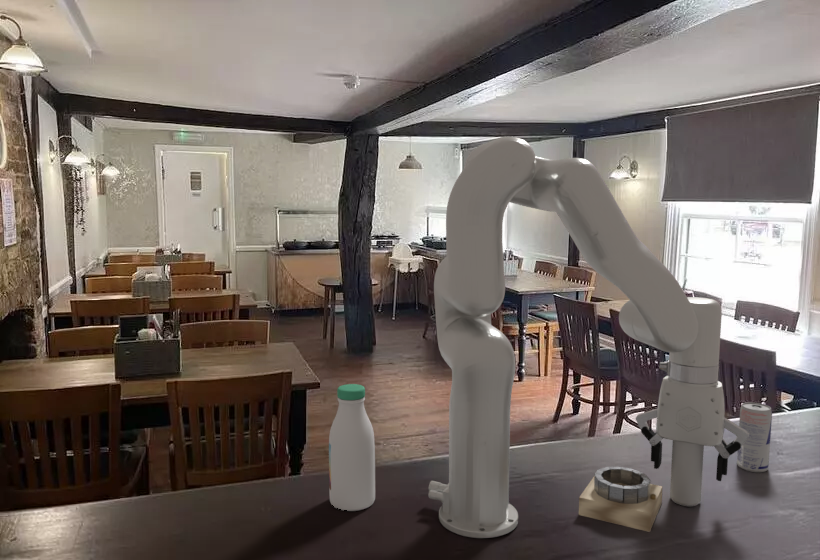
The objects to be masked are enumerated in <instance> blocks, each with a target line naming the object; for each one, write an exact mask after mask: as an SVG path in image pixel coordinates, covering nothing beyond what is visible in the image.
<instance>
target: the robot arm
mask: <svg viewBox="0 0 820 560" xmlns="http://www.w3.org/2000/svg"><path fill="white" fill-rule="evenodd" d="M535 153H536V152H535V150H534V149H533V147H532V146H531V145H530V144H529V143H528V142H527V141H526V140H525V139H522V138H519V137H516V136H506V137H505V136H503V137H500V138H495V139H493V140H491V141H488V142H484V143H482V144H480V145H478V146H477V147H475V148H474V149H472V150H471V151H470V153H469V154H468V156H467V157H466V160H465V163H464V168H463V169H462V170H461V172H460V174H459V175H458V177H457V178H456V180H455V182H454V184H453V187H452V189H451V191H450V193H449V198H448V201H447V206H446V213H445V214H446V215H445V239H446V241H445V244H446V245H445V246H446V247H445V248H446V256H445V257H444V258H443V259H442V260H441V261H440V263H439V264H438V266H437V268H436V271H435V273H434V278H433V279H434V281H433V293H434V294H433V295H434V296H433V298H434V309H435V310H434V311H435V313H434V314H435V325H436V326H435V327H436V337H437V344H438V345H437V346H438V350H439V352H440V355H441V357H442V359H443V360H444V362H445V363H446V364H447V366H449V368H450V369H451V387H450V388H451V389H450V394H449V407H448V408H449V409H448V429H449V430H448V483H447V484H445V483H442V482H440V481H435V480H430V481H429V485H428V498H429V499H430V500H435V501H436V500H437V501H440V502H441V503H442V505H441V506H440V507H439V510H438V519H439V522H440V524H441V525H442V526H443V527H444V528H445V529H447V530H448V531H450V532H452V533H454V534H457V535H459V536H463V537H468V538H474V539H491V538H498V537H502V536H504V535H506V534H509V533H511V532H512V531H514V529H515V528H517V526H518V524H519V512H518V510H517V509H516V508H515V506H513V505H512V504H511V503H510V502H509V501H510V500H509V498H510V496H509V495H510V492H509V491H510V453H511V452H510V450H511V449H510V448H511V447H510V444H511V442H510V441H511V435H510V434H511V405H512V404H511V403H512V400H511V399H512V392H513V385H514V379H515V373H516V354H515V350H514V348H513V345H512V343H511V341H510V340H509V338H508V337H507V336H506V334H504V333H503V332H502V331H501V330H499V329H498V328H496V327H495V326H493V325H492V316H491V315H492V314H493V313H494V312H496V311H497V310H498V309H499V308H500V307H501V305H502V304H503V301H504V298H505V293H506V279H505V266H504V265H505V264H504V247H503V245H504V244H503V223H504V217H505V211H506V209H507V207H508V205H509V204H510V203H511V204H515V205H519V206H522V207H526V208H532V209H535V210H541V211H546V212H549V213H550V212H551V213H552V212H554V213H556V214H557V215H558V218H559V220H560V221H561V222H562V224H563V225H564V227H565V230H567V232H568V234H569V236H570V238H571V239H572V241H573V243H574V244H575V246H576V248H577V249H578V251H579V252H580V255H581V257H582V258H583V260H584V261H585V263H587V265H589V266H590V267H591V268H592V269H593V270H594V271H595V272H596V273H597V274H599V275H600V276H601V277H602V278H604V279H606V280H607V281H609V282H610V283H611V284H613V285H614V286H615V287H616V288H618V290H620V291H621V292H622V293H623V294H624V295H625V296H626V297H627V298H628V301H626V302H625V303H624V304H623V305H622V306H621V308H620V311H619V313H618V322H619V326H620V328H621V330H622V331H623V332H624V333H625V334H626V335H627V337H630V338H632V339H634V340H636V341H638V342H640V343H643V344H645V345H648V346H651V347H653V348H656V349H658V350H661V351H663V352H666V353H669V355H668V357H669V358H668V360H667V361H664V362H663V361H660V362H659V367H658V368H659V370H661V371H664V372H666V374H667V375H666V376H664V377H663V378H662V380H661V385H660V389H659V395H658V404H657V408H654V409H651V410H648V411H644V412H642V413H638V414H637V415H636V416H635V421H636V423H637V425H638V427H639V429H640V432H641V434H642V435H643V436H644V437H645V438H646V439H647V441H648V442H649V444H650V446H651V447H650V449H651V450H650V462H652V463H653V469H654V470H655V469H656V470H658V469H660V466H661V465H662V456H663V453H662V452H663V442H662V440H663V439H664V440H669V441H673V440H674V441H680V442H686V443H691V444H697V445H703V446H704V447H705V446H706V447H714V448H715V450H716V451H717V452H718V455H717V459H716V477H715V478H716V481H718V482H721V481H722V479H723V476H727V474H728V463H729V457H730V456H731V455H733V454H734V453H736V452H738V450H739V449H740V448H741V446H742V445H743V444H744V442H745V441H746V440H747V438H748V436H749V433H748V431H746V430H744V429H743V428H741V427H740V426H739V425H738V424H737V423H735V422H733V421H731V420H730V419H728V418H727V417H725V415H726V414H725V413H726V411H725V396H724V389H723V383H722V382H721V381H719V370H720V369H719V367H720V351H721V350H720V345H721V332H722V330H721V329H722V315H723V314H722V312H723V311H722V306H721V304H720V303H719V301H717V300H715V299H712V298H707V297H701V296H699V297H698V296H687V295H686V293H685V291H684V290H683V287H682V286H681V284H680V283H679V282H678V280H677V279H676V277H675V275H673V274H672V273H671V271H670V270H669V269H668V268H667V267H666V265H665V264H664V263H663V262H662V261H660V259H659V258H658V257H657V256H656V255H655V254H654V253H653V252H652V251H651V250H650V248H649V247H648V246H647V245H646V244H645V243H644V242H642V240H640V238H639V237H637V235H636V233H635V232H634V230H633V229H632V227H631V225H630V224H629V222H628V220H627V218H626V217H625V215H624V213H623V211H622V210H621V207H620V206H619V204H618V203H617V200H616V199H615V197H614V195H613V194H612V192H611V190H610V189H609V187H608V185H607V184H606V182H605V180H604V178H603V176H602V174H601V172H600V171H599V170H598V168H597V167H596V166H595V165H594V164H593V163H592V162H590V161H589V160H587V159H585V158H580V157H568V158H562V159H551V158H545V157H544V158H543V157H539V156H536V154H535ZM654 419H656V423H655V430H656V431H654V430H653V429H652V428H651V427H650V426H649V424H648V421H650V420H654ZM725 430H727V431H728V432H730V433H732V434H733V435H735V436H736V437H735V439H734V440H733V441H731V442H729V444H728V443H727V442H726V441H725V439H724V433H725Z"/></svg>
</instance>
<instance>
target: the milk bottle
mask: <svg viewBox="0 0 820 560" xmlns="http://www.w3.org/2000/svg"><path fill="white" fill-rule="evenodd" d="M336 391H337V392H336V396H337V401H338V407H337V411H336V415H335V417H334V418H333V420H332V424H331V427H330V431H329V434H328V435H329V436H328V479H329V480H328V483H329V484H328V485H329V487H328V488H329V490H328V491H329V493H328V494H329V502H330V504H331V506H332V505H333V506H334V507H333V506H332V507H333V508H335V509H337V508H338V509H337V510H339V509H341V510H340V511H344V510H347V511H346V512H356V511H362V510H364V509H368V508H369V507H371V506H372V505H373V504H374V502H375V500H376V448H375V433H374V427H373V425H372V422H371V420H370V418H369V416H368V414H367V411H366V409H365V400H366V398H365V397H366V388H365V386H363V385H362V384H356V383H348V384H343V385H342V384H341V385H339V386H338V387H337V389H336Z"/></svg>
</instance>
